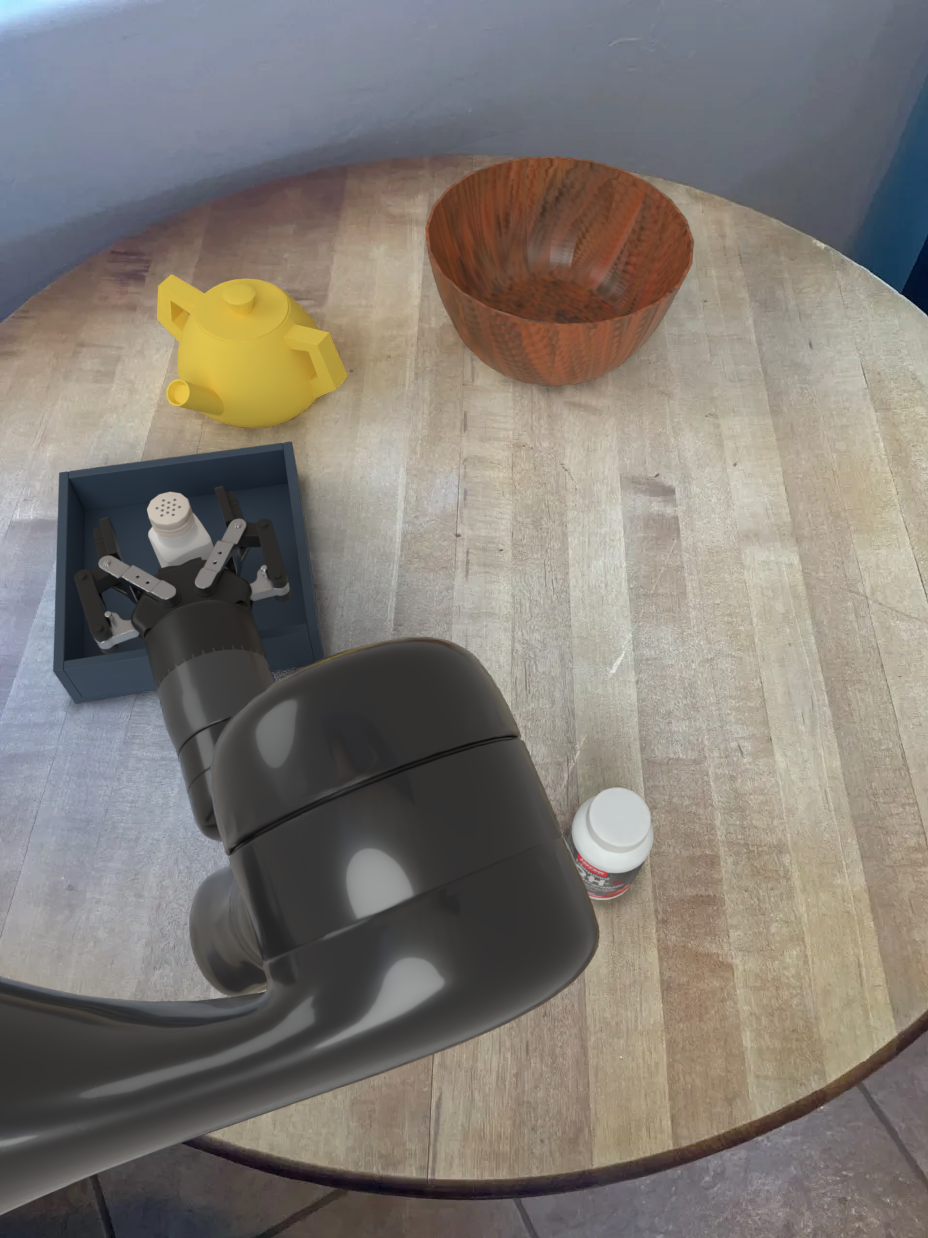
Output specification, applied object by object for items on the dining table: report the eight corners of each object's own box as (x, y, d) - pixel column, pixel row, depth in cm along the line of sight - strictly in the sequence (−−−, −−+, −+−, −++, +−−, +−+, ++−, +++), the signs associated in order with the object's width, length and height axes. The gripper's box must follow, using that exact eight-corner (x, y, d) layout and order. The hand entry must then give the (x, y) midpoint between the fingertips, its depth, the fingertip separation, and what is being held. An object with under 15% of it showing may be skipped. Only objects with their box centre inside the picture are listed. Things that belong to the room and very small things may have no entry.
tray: (74, 703, 75) (52, 671, 71) (77, 510, 85) (58, 471, 81) (325, 663, 77) (318, 629, 73) (299, 479, 88) (291, 441, 83)
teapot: (104, 426, 91) (65, 334, 81) (212, 309, 100) (189, 214, 90) (287, 499, 86) (269, 411, 77) (383, 370, 95) (377, 278, 86)
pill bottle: (561, 900, 68) (578, 854, 59) (560, 827, 70) (576, 773, 62) (638, 904, 68) (665, 858, 59) (634, 830, 70) (659, 777, 62)
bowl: (376, 323, 99) (369, 225, 89) (547, 224, 108) (558, 126, 99) (547, 461, 89) (560, 368, 80) (719, 340, 99) (750, 243, 89)
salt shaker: (163, 574, 81) (132, 501, 73) (206, 552, 82) (180, 479, 74) (184, 606, 79) (155, 536, 71) (227, 584, 81) (204, 513, 73)
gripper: (312, 624, 63) (248, 449, 71) (91, 693, 60) (50, 502, 68) (324, 680, 69) (263, 513, 77) (124, 745, 66) (83, 565, 74)
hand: (164, 508), depth 72 cm, fingers open, 8 cm apart
